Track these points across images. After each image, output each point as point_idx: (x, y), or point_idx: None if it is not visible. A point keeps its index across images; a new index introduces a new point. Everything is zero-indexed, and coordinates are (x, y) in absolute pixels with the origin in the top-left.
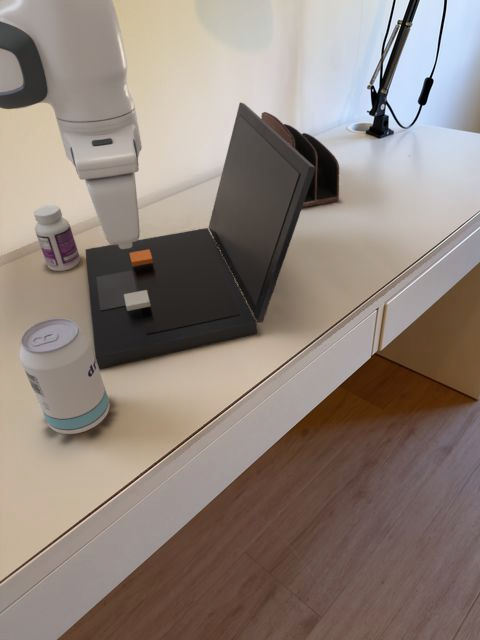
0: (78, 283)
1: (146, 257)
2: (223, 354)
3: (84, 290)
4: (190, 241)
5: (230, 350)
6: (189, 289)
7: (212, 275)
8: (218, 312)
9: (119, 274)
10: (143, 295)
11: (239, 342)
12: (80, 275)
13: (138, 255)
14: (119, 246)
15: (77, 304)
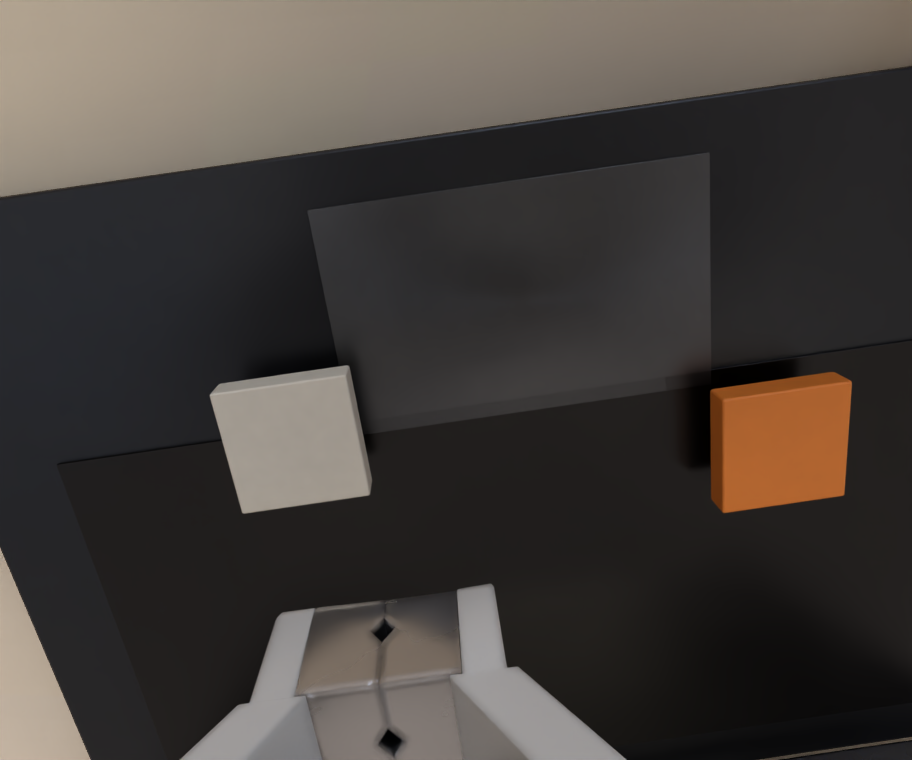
0: (787, 5)
1: (745, 483)
2: (32, 693)
3: (689, 56)
4: (902, 651)
5: (57, 715)
6: None
7: None
8: None
9: (687, 299)
10: (311, 481)
11: None
12: (882, 9)
13: (790, 437)
14: (275, 627)
15: (542, 25)
